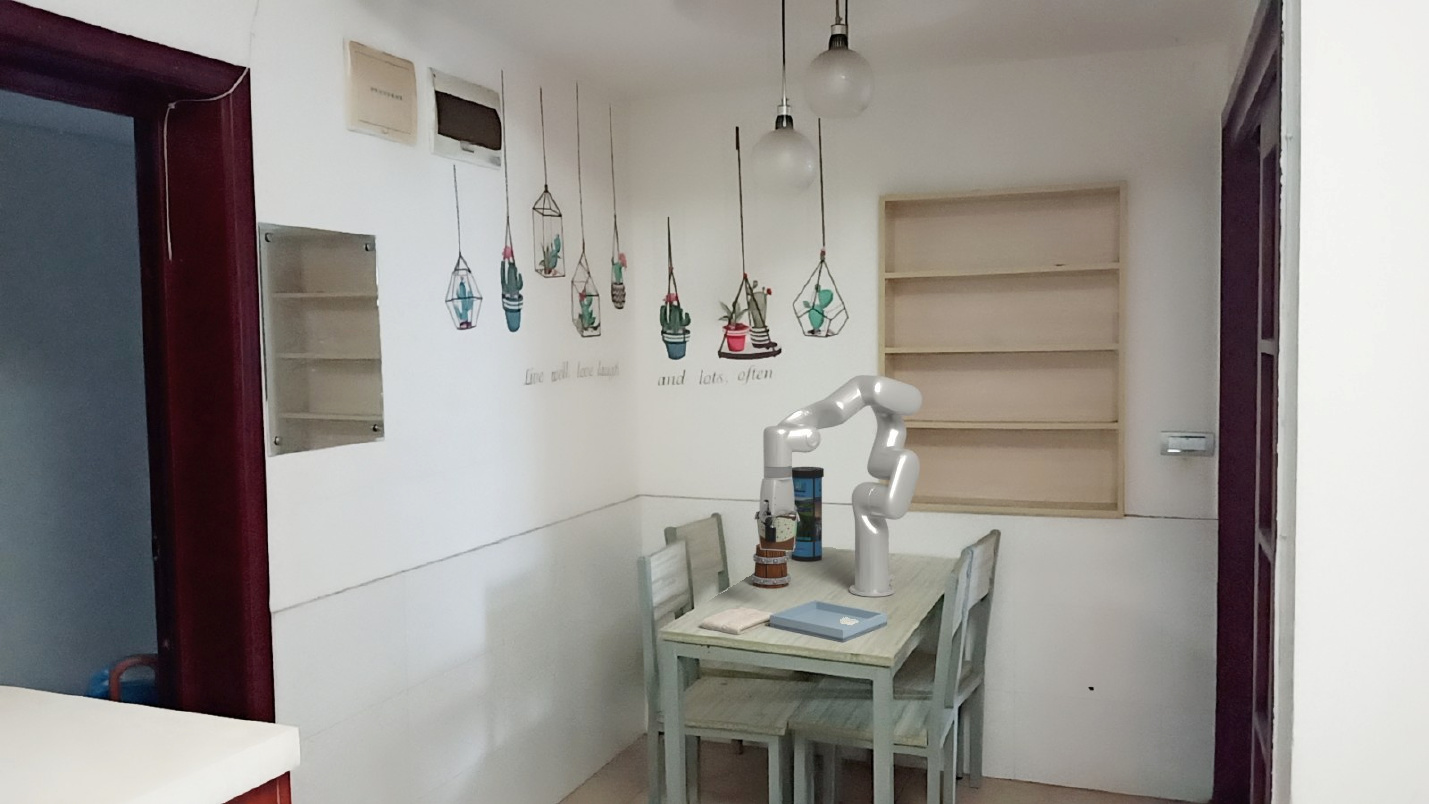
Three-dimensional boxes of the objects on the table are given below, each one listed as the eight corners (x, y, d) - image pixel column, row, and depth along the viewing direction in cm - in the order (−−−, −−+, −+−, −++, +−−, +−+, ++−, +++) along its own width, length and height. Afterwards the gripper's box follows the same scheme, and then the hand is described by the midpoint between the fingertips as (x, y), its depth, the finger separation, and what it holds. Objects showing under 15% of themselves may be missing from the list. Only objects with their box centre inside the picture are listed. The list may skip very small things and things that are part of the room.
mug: (744, 587, 310) (746, 535, 311) (759, 585, 323) (762, 535, 325) (782, 590, 306) (785, 537, 307) (796, 588, 319) (798, 538, 320)
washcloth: (779, 622, 273) (779, 610, 273) (739, 638, 259) (739, 625, 259) (741, 615, 281) (741, 603, 280) (700, 630, 266) (700, 618, 266)
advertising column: (825, 555, 356) (825, 466, 354) (822, 562, 345) (822, 471, 343) (791, 554, 358) (791, 466, 356) (787, 561, 347) (787, 470, 345)
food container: (806, 547, 283) (805, 510, 283) (799, 551, 278) (798, 514, 277) (762, 544, 288) (761, 508, 287) (755, 549, 282) (754, 512, 281)
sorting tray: (815, 611, 282) (815, 600, 282) (886, 625, 268) (887, 613, 268) (769, 626, 267) (769, 615, 267) (843, 642, 253) (843, 630, 253)
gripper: (785, 468, 290) (786, 533, 291) (746, 475, 277) (747, 543, 278) (808, 470, 285) (808, 536, 286) (769, 477, 272) (769, 546, 273)
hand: (778, 539), depth 282 cm, fingers closed on food container, 6 cm apart
